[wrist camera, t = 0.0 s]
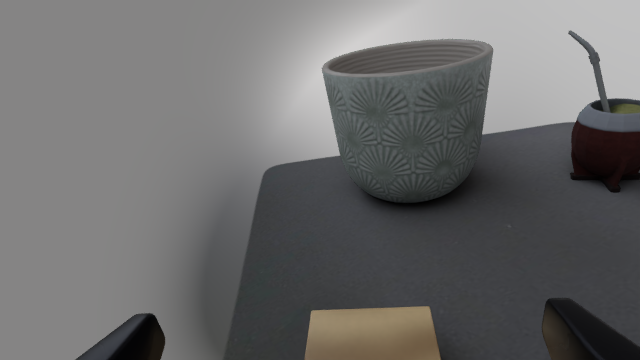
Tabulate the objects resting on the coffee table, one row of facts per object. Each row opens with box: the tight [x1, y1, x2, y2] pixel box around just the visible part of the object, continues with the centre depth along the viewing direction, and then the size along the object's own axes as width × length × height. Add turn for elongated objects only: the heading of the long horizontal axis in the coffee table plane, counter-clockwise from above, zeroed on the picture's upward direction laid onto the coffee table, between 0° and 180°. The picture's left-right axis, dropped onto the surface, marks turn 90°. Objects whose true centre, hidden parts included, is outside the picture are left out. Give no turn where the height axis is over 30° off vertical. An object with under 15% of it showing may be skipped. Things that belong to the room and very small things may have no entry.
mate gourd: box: [569, 31, 640, 192], centre depth 37 cm, size 8×8×15 cm
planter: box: [322, 39, 493, 203], centre depth 42 cm, size 17×17×15 cm
